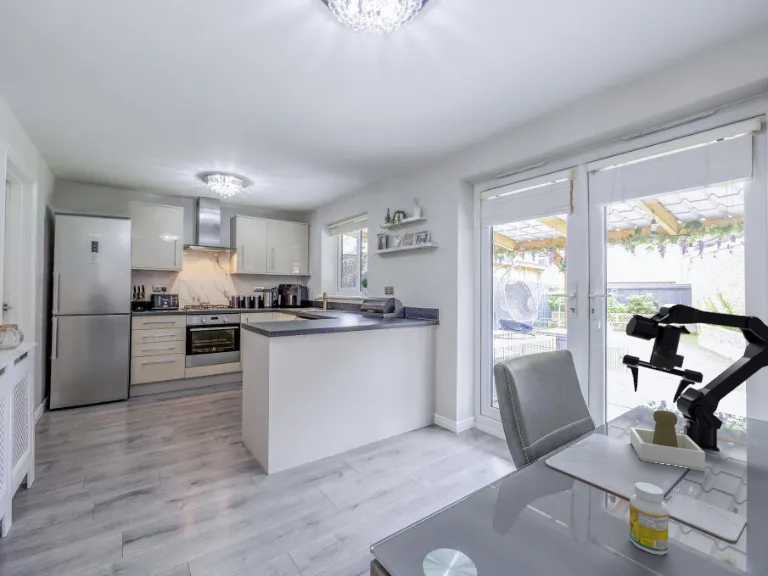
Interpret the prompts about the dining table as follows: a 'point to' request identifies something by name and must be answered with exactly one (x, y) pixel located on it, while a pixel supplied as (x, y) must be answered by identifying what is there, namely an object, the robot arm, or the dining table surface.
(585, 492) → the dining table surface
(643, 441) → the open box
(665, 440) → the cork
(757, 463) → the dining table surface
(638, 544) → the supplement bottle
